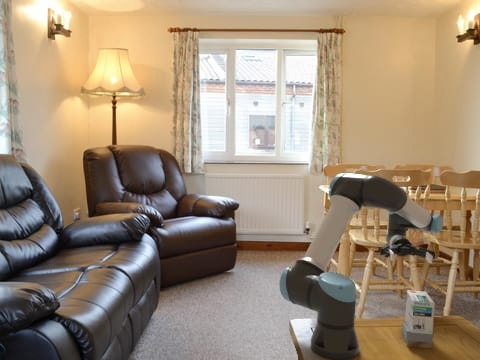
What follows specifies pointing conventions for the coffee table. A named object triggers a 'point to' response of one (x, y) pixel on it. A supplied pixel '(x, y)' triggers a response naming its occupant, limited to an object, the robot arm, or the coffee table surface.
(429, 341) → the grey square tile
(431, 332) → the light bulb box
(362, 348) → the coffee table surface
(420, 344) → the walnut base block
